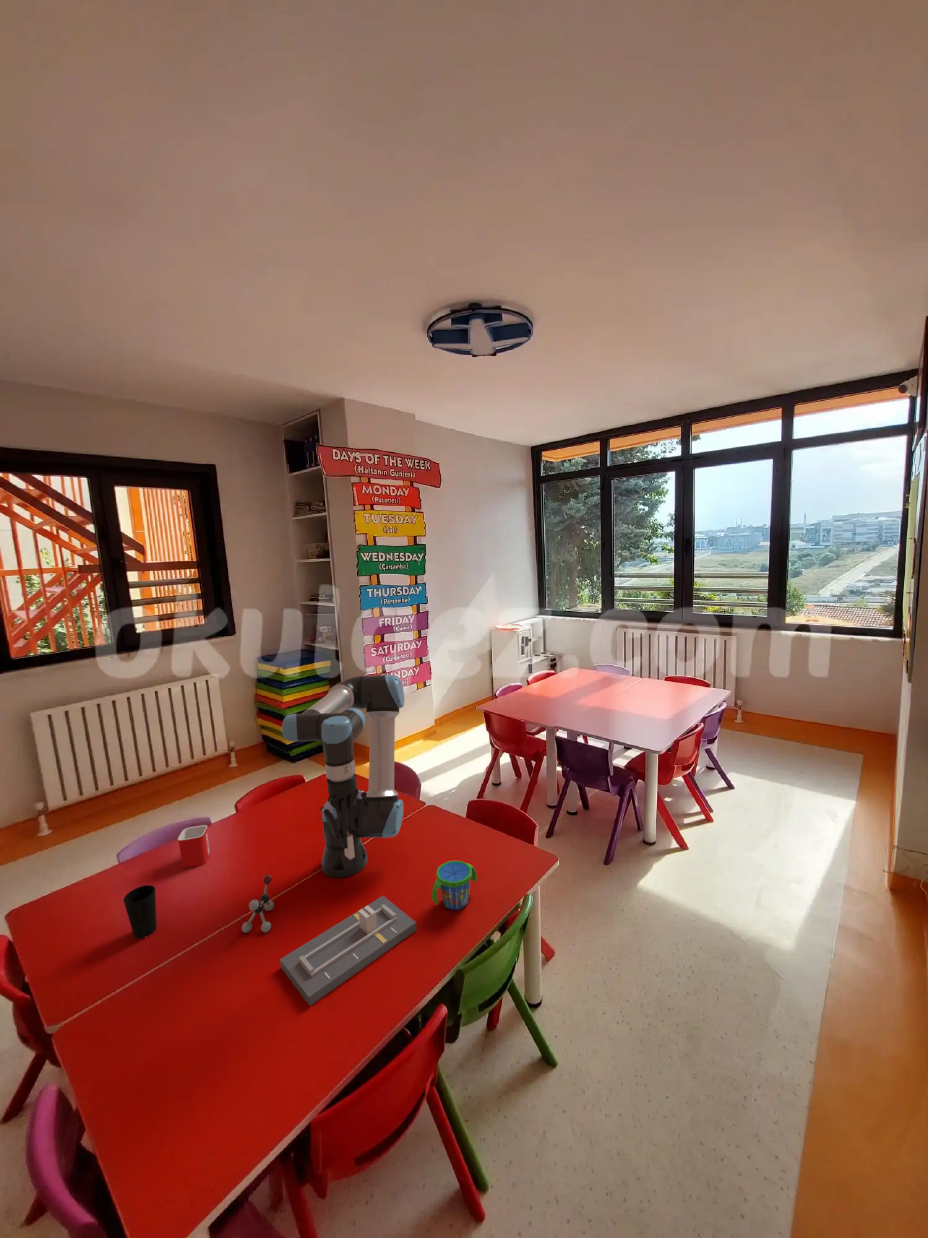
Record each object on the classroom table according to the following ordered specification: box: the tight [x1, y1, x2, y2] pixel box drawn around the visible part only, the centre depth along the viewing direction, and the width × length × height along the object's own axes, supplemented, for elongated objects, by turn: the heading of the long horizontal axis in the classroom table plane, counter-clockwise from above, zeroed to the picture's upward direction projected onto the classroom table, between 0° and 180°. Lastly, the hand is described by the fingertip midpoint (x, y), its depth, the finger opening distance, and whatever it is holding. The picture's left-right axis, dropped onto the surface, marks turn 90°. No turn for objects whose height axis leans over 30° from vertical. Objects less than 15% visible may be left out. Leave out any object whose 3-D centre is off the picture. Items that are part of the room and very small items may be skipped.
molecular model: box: [241, 874, 275, 934], centre depth 146 cm, size 8×12×11 cm
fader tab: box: [358, 904, 377, 934], centre depth 137 cm, size 4×3×5 cm
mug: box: [177, 824, 211, 869], centre depth 179 cm, size 12×8×11 cm
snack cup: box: [431, 860, 478, 911], centre depth 149 cm, size 16×10×10 cm
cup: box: [123, 884, 158, 939], centre depth 144 cm, size 8×8×12 cm
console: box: [279, 895, 418, 1007], centre depth 134 cm, size 16×32×4 cm, turn 134°
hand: (349, 856), depth 136 cm, fingers closed
